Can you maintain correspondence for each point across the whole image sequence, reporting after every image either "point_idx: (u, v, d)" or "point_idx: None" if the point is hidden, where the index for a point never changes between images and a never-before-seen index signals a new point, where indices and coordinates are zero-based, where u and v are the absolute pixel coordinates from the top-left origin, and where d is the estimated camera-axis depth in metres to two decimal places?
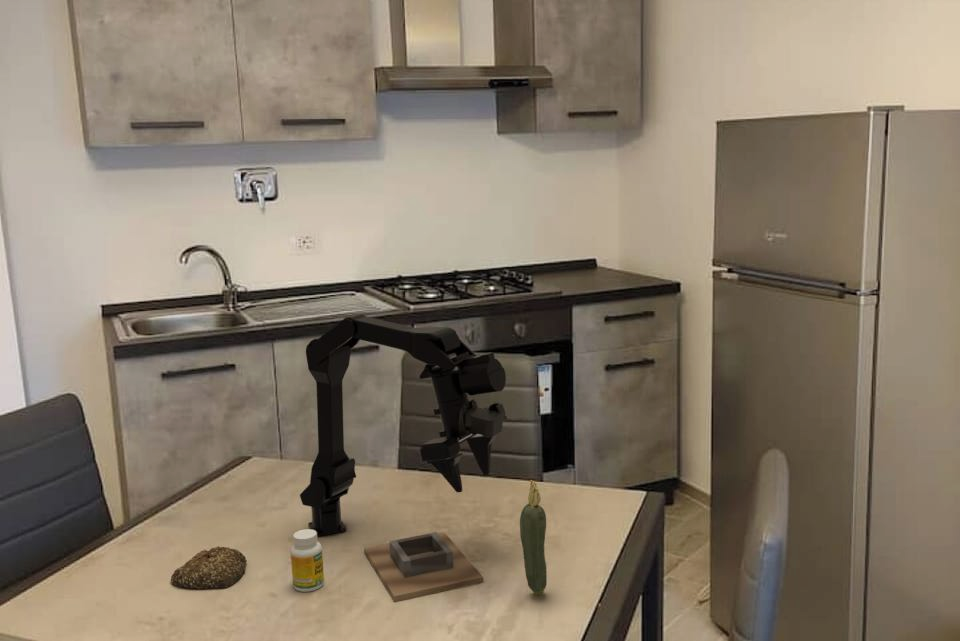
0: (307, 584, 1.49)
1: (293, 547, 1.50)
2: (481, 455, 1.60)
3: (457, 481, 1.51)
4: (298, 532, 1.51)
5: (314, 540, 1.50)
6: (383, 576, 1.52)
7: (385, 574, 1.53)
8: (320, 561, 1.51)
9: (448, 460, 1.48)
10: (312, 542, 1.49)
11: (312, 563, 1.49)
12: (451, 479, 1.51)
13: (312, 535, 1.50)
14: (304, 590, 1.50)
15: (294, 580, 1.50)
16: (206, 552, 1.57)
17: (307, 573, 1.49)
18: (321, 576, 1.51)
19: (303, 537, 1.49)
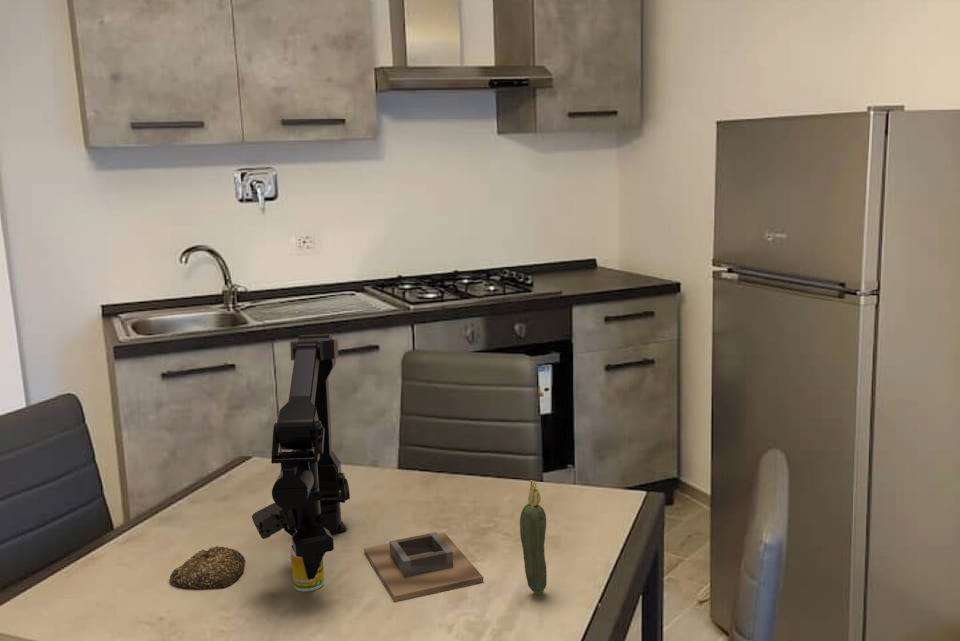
0: (307, 584, 1.49)
1: None
2: None
3: None
4: None
5: None
6: (383, 576, 1.52)
7: (385, 574, 1.53)
8: None
9: None
10: None
11: None
12: None
13: None
14: (304, 590, 1.50)
15: (294, 580, 1.50)
16: (205, 552, 1.57)
17: None
18: (321, 576, 1.51)
19: None
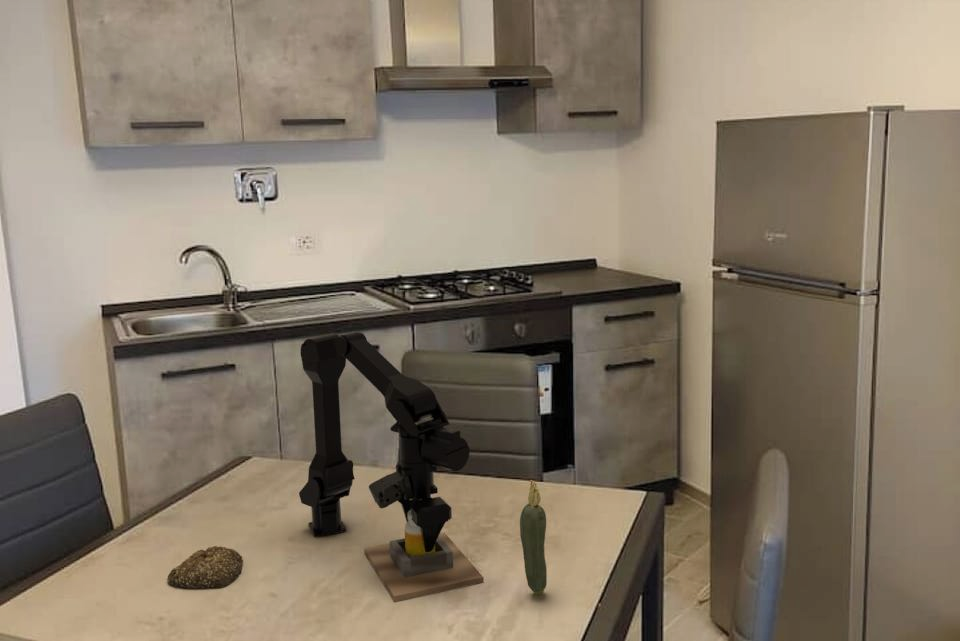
0: None
1: (407, 525, 1.55)
2: None
3: None
4: None
5: None
6: (383, 576, 1.52)
7: (385, 574, 1.53)
8: None
9: None
10: None
11: None
12: None
13: None
14: None
15: (408, 557, 1.56)
16: (203, 552, 1.57)
17: (422, 549, 1.54)
18: None
19: None
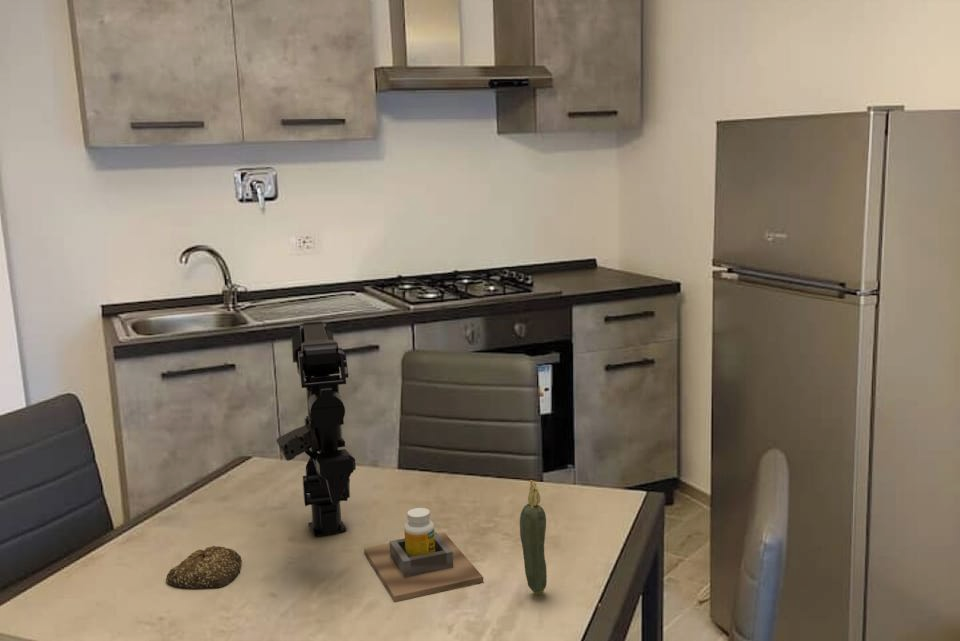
0: None
1: (407, 525, 1.55)
2: None
3: (318, 474, 1.63)
4: (411, 510, 1.56)
5: (428, 518, 1.55)
6: (383, 576, 1.52)
7: (385, 574, 1.53)
8: (433, 538, 1.56)
9: None
10: (426, 520, 1.55)
11: (426, 540, 1.54)
12: None
13: (426, 513, 1.55)
14: None
15: (408, 557, 1.56)
16: (201, 552, 1.57)
17: (422, 549, 1.54)
18: None
19: (418, 515, 1.54)
